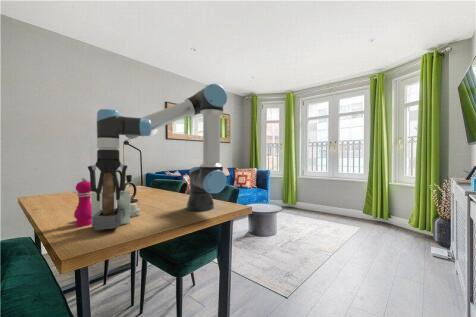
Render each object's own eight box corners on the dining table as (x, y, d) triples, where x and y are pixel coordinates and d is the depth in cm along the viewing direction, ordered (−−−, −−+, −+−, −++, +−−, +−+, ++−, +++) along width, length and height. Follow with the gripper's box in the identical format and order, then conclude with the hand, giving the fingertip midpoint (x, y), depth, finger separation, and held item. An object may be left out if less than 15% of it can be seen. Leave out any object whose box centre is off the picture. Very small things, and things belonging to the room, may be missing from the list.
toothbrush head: (78, 212, 97) (138, 199, 107) (81, 226, 97) (140, 212, 107) (75, 214, 92) (138, 201, 102) (77, 229, 92) (140, 215, 103)
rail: (115, 216, 86) (115, 172, 86) (113, 219, 83) (113, 173, 82) (104, 217, 85) (103, 172, 85) (101, 220, 81) (101, 173, 81)
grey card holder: (130, 222, 93) (130, 190, 93) (127, 231, 82) (127, 195, 82) (92, 226, 88) (92, 192, 88) (84, 236, 77) (83, 197, 77)
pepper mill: (71, 227, 86) (71, 178, 86) (77, 222, 93) (76, 177, 93) (92, 225, 89) (92, 177, 89) (96, 220, 96) (96, 176, 95)
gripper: (133, 149, 90) (133, 204, 90) (85, 149, 84) (85, 208, 84) (131, 149, 83) (131, 208, 83) (79, 148, 77) (79, 213, 77)
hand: (108, 208), depth 84 cm, fingers closed on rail, 4 cm apart
